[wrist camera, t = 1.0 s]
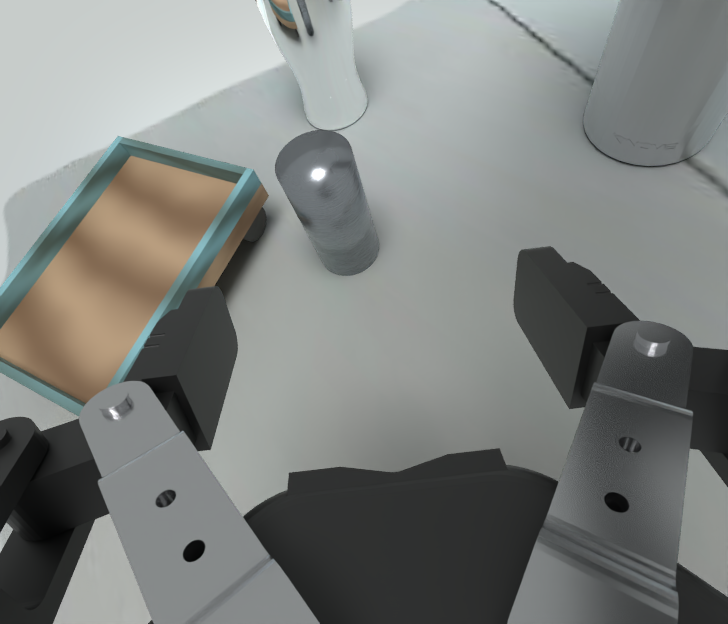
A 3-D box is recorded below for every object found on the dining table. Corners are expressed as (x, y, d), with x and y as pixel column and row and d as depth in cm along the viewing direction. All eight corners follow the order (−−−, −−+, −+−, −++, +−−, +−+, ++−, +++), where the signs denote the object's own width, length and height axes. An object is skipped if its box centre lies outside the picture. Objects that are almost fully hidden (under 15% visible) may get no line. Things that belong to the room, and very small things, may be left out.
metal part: (336, 218, 37) (297, 124, 28) (388, 232, 36) (365, 137, 27) (310, 265, 36) (261, 182, 27) (364, 282, 34) (330, 200, 25)
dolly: (160, 183, 43) (117, 136, 37) (281, 217, 38) (253, 169, 33) (27, 370, 37) (-46, 346, 31) (153, 439, 32) (92, 424, 27)
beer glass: (287, 120, 43) (210, -58, 30) (331, 73, 45) (276, -117, 31) (342, 144, 40) (285, -39, 27) (387, 93, 42) (353, -104, 29)
